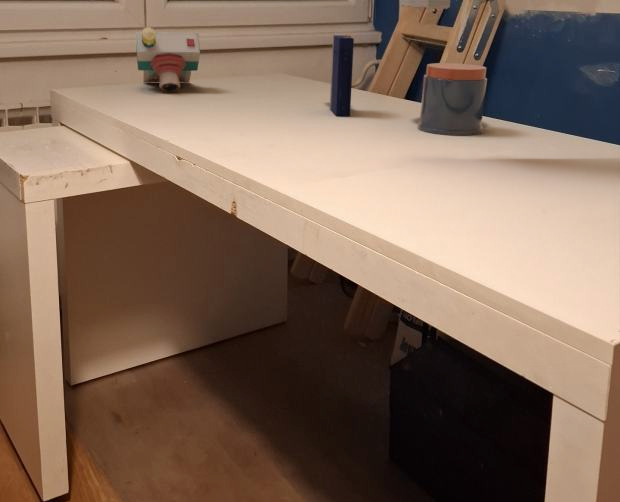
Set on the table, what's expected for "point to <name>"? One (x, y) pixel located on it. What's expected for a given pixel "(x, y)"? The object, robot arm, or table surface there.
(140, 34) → the toy camera
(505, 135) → the table surface
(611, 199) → the table surface
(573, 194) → the table surface
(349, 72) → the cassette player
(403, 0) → the padlock
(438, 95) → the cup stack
